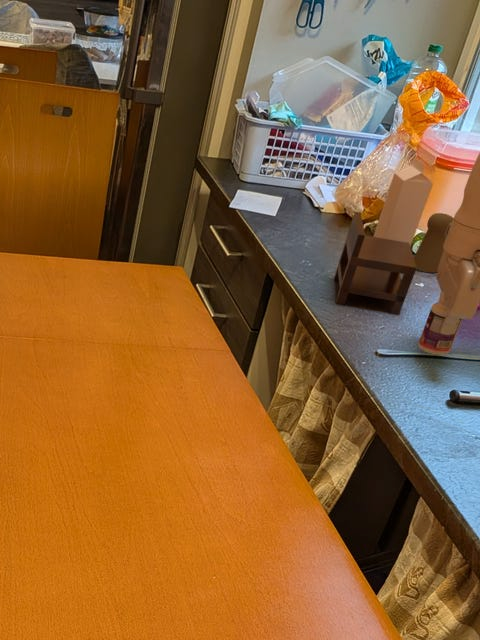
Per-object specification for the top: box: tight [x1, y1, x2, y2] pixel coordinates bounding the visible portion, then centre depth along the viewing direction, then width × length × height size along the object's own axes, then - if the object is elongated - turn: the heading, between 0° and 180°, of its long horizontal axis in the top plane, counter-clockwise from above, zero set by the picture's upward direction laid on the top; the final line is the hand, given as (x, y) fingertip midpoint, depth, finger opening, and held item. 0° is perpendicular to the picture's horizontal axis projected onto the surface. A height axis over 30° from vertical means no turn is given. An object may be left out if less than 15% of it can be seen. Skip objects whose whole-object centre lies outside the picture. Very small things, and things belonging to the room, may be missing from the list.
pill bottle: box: [417, 291, 463, 356], centre depth 158 cm, size 5×5×10 cm
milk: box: [372, 157, 434, 275], centre depth 189 cm, size 6×6×22 cm
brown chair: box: [333, 211, 417, 316], centre depth 181 cm, size 12×16×13 cm
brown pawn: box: [413, 212, 454, 273], centre depth 199 cm, size 6×6×11 cm
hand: (442, 325), depth 159 cm, fingers closed on pill bottle, 5 cm apart
